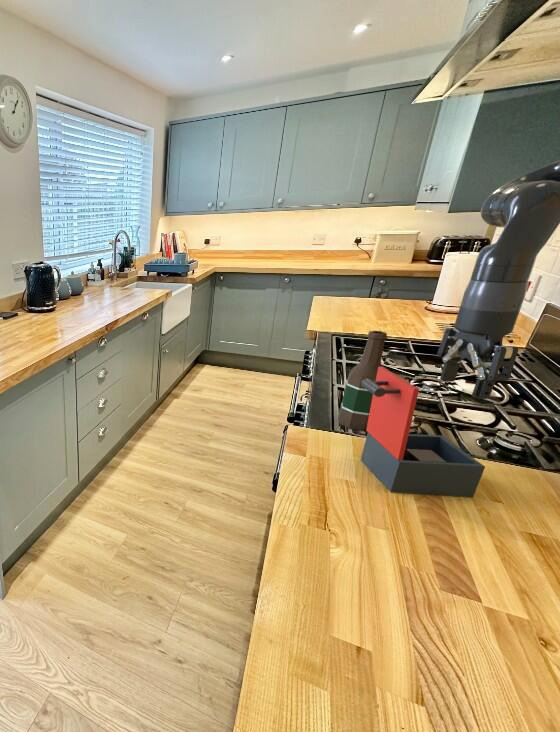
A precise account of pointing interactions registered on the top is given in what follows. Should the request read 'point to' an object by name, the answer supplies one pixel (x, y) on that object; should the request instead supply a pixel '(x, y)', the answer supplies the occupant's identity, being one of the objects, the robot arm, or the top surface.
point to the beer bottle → (355, 394)
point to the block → (422, 455)
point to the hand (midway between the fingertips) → (462, 389)
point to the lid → (391, 410)
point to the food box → (424, 468)
